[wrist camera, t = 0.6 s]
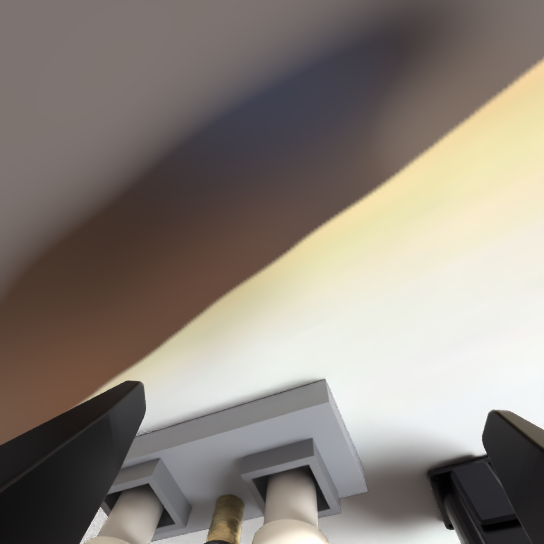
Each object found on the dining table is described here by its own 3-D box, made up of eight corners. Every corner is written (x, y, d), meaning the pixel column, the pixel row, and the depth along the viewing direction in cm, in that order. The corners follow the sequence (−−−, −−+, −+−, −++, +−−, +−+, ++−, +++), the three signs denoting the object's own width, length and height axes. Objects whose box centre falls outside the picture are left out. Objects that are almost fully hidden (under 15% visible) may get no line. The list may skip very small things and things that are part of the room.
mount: (361, 462, 25) (373, 512, 21) (151, 515, 29) (129, 565, 25) (325, 379, 23) (331, 417, 19) (105, 446, 27) (73, 490, 23)
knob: (183, 511, 24) (151, 607, 19) (134, 523, 25) (89, 618, 19) (155, 468, 23) (112, 556, 18) (105, 482, 24) (48, 570, 18)
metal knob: (254, 514, 24) (246, 575, 20) (221, 521, 25) (208, 583, 21) (239, 487, 24) (228, 546, 20) (206, 496, 24) (189, 554, 20)
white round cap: (332, 496, 22) (344, 596, 17) (274, 509, 23) (268, 609, 18) (309, 449, 21) (315, 539, 16) (249, 465, 22) (235, 556, 17)
